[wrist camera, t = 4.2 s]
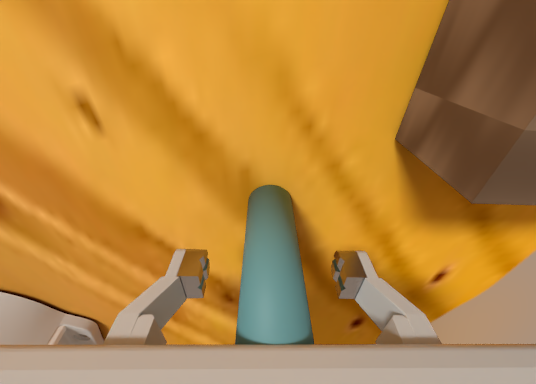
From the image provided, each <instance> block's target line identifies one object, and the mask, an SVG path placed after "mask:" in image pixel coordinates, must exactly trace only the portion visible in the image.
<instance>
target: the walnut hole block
mask: <svg viewBox="0 0 536 384" xmlns="http://www.w3.org/2000/svg"><path fill="white" fill-rule="evenodd" d="M395 139H396V140H397V141H398V142H399V143H401V144H402V145H403V146H404V147H405V148H406V149H408V150H409V151H410V152H411V153H412V154H414V155H415V156H416V157H417V158H418V159H420V160H421V161H422V162H423V163H424V164H426V165H427V166H428V167H429V168H430V169H431V170H433V171H434V172H435V173H436V174H437V175H439V176H440V177H441V178H442V179H443V180H445V181H446V182H447V183H448V184H449V185H451V186H452V187H453V188H454V189H455V190H456V191H458V192H459V193H460V194H461V195H462V196H464V197H465V198H466V199H467V200H468V201H470V202H471V203H479V204H511V205H536V0H449V3H448V5H447V8H446V10H445V13H444V15H443V18H442V21H441V23H440V26H439V28H438V31H437V33H436V36H435V38H434V41H433V44H432V46H431V49H430V51H429V54H428V56H427V59H426V61H425V64H424V66H423V69H422V72H421V74H420V77H419V79H418V82H417V84H416V87H415V89H414V92H413V95H412V97H411V100H410V102H409V105H408V107H407V110H406V112H405V115H404V117H403V120H402V123H401V125H400V128H399V130H398V133H397V135H396V138H395Z"/></svg>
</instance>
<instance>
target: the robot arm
mask: <svg viewBox="0 0 536 384" xmlns="http://www.w3.org/2000/svg"><path fill="white" fill-rule="evenodd" d="M207 256H208V252H207V250H200V249H177V250H176V251H175V253H174V255H173V258H172V260H171V263H170V265H169V268H168V270H167V273H166V275H165V277H161V278H160V279H159V280H157V281H156V282H155V283H154V284H153V285H151V286H150V287H149V288H148V289H147V290H146V291H144V292H143V293H142V294H141V295H140V296H139V297H137V298H136V299H135V300H134V301H133V302H131V303H130V304H129V305H128V306H127V307H126V308H124V309H123V310H122V311H121V312H120V313H119V314H118V316H117V317H116V319H115V321H114V323H113V325H112V327H111V329H110V331H109V333H108V335H107V337H106V339H105V341H104V340H103V338H102V335H101V333H100V330H99V328H98V325H97V324H96V323H95V322H93V321H91V320H88V319H85V318H82V317H78V316H74V315H69V314H65V313H63V312H60V311H57V310H55V309H53V308H50V307H48V306H46V305H43V304H41V303H38V302H35V301H32V300H29V299H26V298H23V297H19V296H15V295H12V294H7V293H3V292H0V384H536V344H442V343H441V342H440V340H439V338H438V336H437V335H436V333H435V331H434V329H433V327H432V326H431V324H430V322H429V320H428V319H427V317H426V315H425V314H424V313H423V312H422V311H420V310H419V309H418V308H417V307H416V306H414V305H413V304H412V303H411V302H409V301H408V300H407V299H406V298H405V297H403V296H402V295H401V294H400V293H399V292H397V291H396V290H395V289H394V288H393V287H391V286H390V285H389V284H388V283H387V282H385V281H384V280H383V279H382V278H378V276H377V274H376V272H375V269H374V267H373V265H372V263H371V261H370V259H369V257H368V255H367V253H366V252H365V251H336V252H335V254H334V257H335V259H334V260H333V261H332V265H331V272H332V277H333V279H334V280H335V281H336V282H337V283H336V286H335V288H336V291H337V295H338V298H341V299H355V301H356V302H357V303H358V304H359V305H360V306H361V308H362V309H363V310H364V311H365V312H366V313H367V315H368V316H369V317H370V318H371V319H372V320H373V322H374V323H375V324H376V325H377V326H378V327H379V328H380V330H381V331H382V333H381V334H380V335H379V337H378V338H377V340H376V341H375V342H376V344H286V345H166V343H167V341H166V340H165V338H164V336H163V334H162V332H161V329H162V328H163V327H164V325H165V324H166V323H167V322H168V321H169V319H170V318H171V317H172V316H173V315H174V313H175V312H176V311H177V310H178V309H179V308H180V306H181V305H182V304H183V303H184V302H185V300H186V298H203V297H204V293H205V289H206V282H205V280H206V279H207V278H208V275H209V268H210V263H209V259H208V258H207Z"/></svg>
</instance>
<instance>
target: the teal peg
mask: <svg viewBox="0 0 536 384" xmlns="http://www.w3.org/2000/svg"><path fill="white" fill-rule="evenodd" d="M286 344H314V339H313V333H312V327H311V320H310V314H309V308H308V302H307V295H306V289H305V283H304V276H303V270H302V264H301V257H300V251H299V245H298V238H297V232H296V226H295V219H294V213H293V207H292V200H291V197H290V195H289V193H288V192H287V191H286V190H285V189H283V188H281V187H279V186H275V185H265V186H261V187H259V188H257V189H256V190H254V191H253V192H252V193H251V195H250V197H249V201H248V212H247V222H246V233H245V244H244V255H243V266H242V276H241V287H240V298H239V309H238V319H237V330H236V341H235V345H286Z"/></svg>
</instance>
